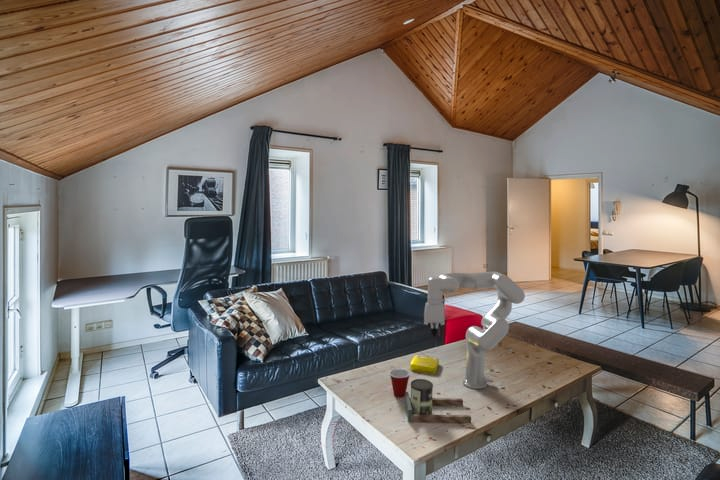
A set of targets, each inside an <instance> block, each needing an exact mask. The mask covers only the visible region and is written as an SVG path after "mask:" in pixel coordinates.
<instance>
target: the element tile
mask: <svg viewBox="0 0 720 480" xmlns="http://www.w3.org/2000/svg"><path fill="white" fill-rule="evenodd" d="M439 366H440V359H439V357H434V356H426V355H420V354H415V355H414V356H413V358H412V360H411V361H410V364H409V367H410V369H409V370H410V371H412V372H417V373H424V374H430V375H435V374H436V373H437V370H438V369H439Z"/></svg>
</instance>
